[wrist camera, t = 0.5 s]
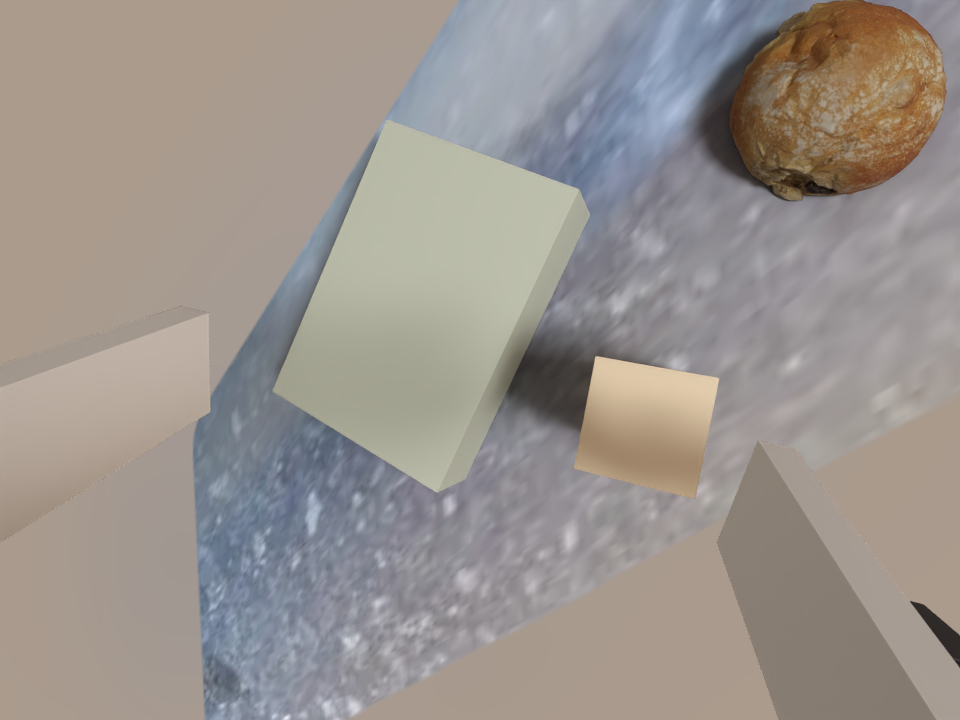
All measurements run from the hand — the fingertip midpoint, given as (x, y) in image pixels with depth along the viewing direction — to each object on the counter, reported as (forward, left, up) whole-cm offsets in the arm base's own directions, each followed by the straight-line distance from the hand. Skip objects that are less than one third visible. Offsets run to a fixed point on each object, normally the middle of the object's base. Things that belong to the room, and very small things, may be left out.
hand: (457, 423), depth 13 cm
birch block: (-1, +4, -24) cm, 24 cm away
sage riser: (-1, -12, -24) cm, 27 cm away
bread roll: (-21, +5, -24) cm, 32 cm away
